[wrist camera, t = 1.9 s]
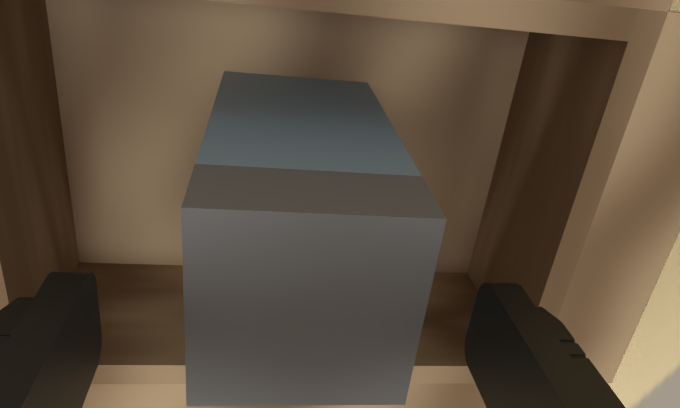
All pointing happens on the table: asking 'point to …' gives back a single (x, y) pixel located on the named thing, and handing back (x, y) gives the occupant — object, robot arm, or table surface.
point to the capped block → (304, 248)
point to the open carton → (408, 121)
